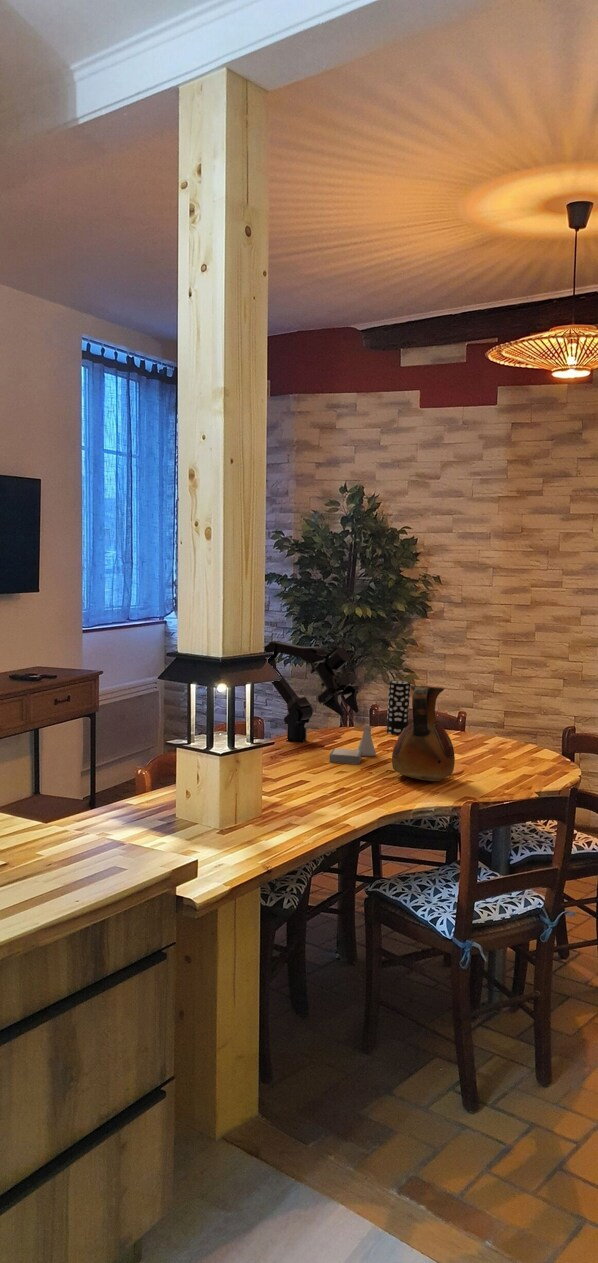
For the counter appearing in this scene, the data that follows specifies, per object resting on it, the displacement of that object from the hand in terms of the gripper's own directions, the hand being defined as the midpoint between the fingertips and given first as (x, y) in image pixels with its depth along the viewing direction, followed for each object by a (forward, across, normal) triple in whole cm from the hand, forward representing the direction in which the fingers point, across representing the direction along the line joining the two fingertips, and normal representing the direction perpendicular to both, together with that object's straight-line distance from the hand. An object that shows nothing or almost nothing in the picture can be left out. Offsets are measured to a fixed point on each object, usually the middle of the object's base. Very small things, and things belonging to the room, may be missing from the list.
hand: (350, 714), depth 326 cm
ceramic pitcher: (+35, -15, -20) cm, 43 cm away
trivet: (+15, -12, +3) cm, 19 cm away
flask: (+15, 0, +3) cm, 15 cm away
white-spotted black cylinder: (+7, +42, +13) cm, 44 cm away
